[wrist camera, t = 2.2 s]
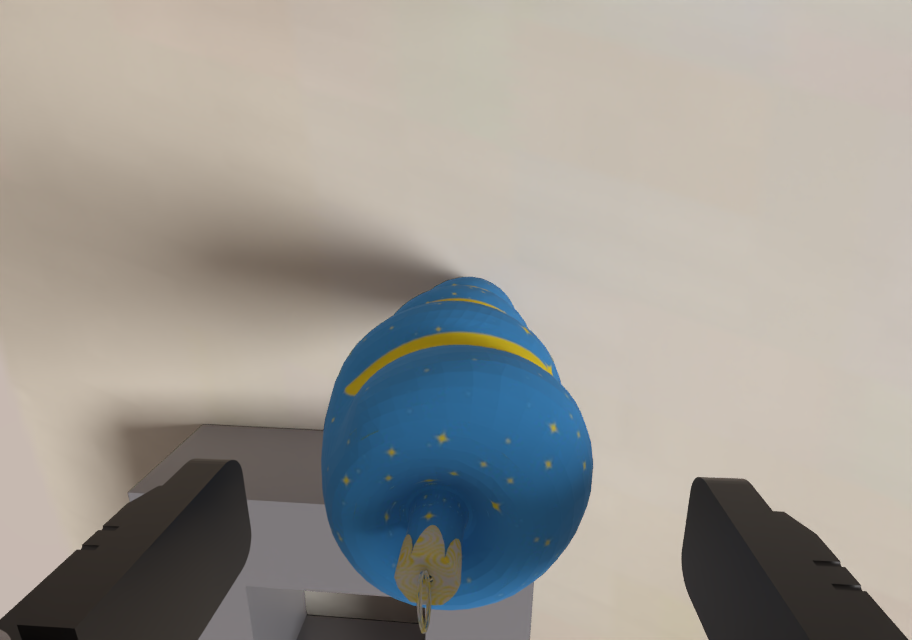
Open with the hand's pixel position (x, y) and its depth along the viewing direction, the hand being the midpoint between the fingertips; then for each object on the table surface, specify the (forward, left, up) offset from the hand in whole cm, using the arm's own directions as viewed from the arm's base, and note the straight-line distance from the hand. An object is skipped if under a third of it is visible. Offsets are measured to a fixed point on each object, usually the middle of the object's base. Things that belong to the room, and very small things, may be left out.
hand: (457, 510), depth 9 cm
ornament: (-1, 0, -13) cm, 13 cm away
